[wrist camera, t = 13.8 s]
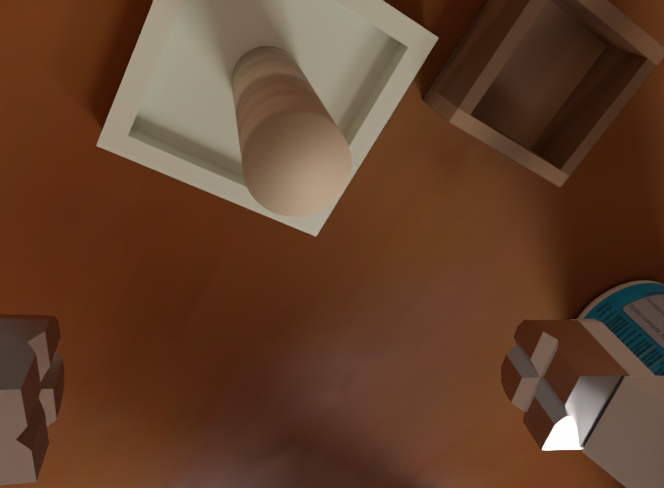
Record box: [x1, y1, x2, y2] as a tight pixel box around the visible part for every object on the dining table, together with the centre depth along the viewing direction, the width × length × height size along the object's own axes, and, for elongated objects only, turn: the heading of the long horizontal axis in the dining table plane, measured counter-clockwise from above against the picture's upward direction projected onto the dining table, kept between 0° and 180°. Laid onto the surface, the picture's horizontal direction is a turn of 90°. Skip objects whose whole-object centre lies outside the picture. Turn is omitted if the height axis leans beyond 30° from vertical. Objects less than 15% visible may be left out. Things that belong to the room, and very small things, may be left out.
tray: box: [96, 0, 439, 237], centre depth 24 cm, size 11×11×2 cm
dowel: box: [232, 46, 352, 217], centre depth 20 cm, size 3×3×10 cm
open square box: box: [422, 0, 664, 187], centre depth 25 cm, size 7×7×4 cm
